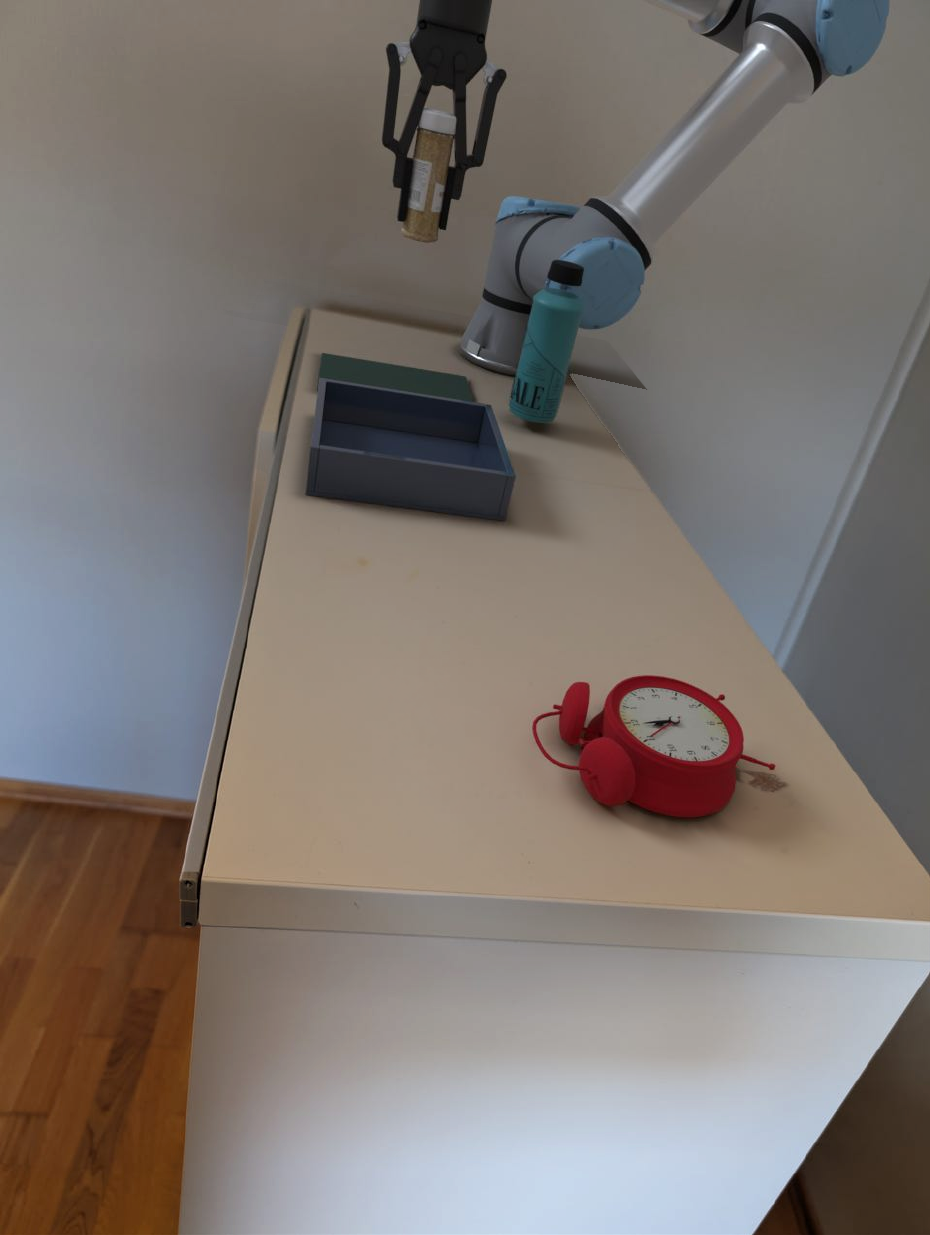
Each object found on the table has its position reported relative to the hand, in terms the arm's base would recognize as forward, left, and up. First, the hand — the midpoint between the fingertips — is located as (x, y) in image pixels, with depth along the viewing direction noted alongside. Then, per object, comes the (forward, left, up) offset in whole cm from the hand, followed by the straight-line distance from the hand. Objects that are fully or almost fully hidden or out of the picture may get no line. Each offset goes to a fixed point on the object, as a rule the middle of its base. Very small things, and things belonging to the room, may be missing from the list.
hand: (421, 223), depth 102 cm
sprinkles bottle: (0, 0, -2) cm, 2 cm away
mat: (0, 0, -20) cm, 20 cm away
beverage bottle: (-17, +7, -20) cm, 27 cm away
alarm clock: (-14, +70, -20) cm, 74 cm away
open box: (0, +26, -20) cm, 33 cm away
